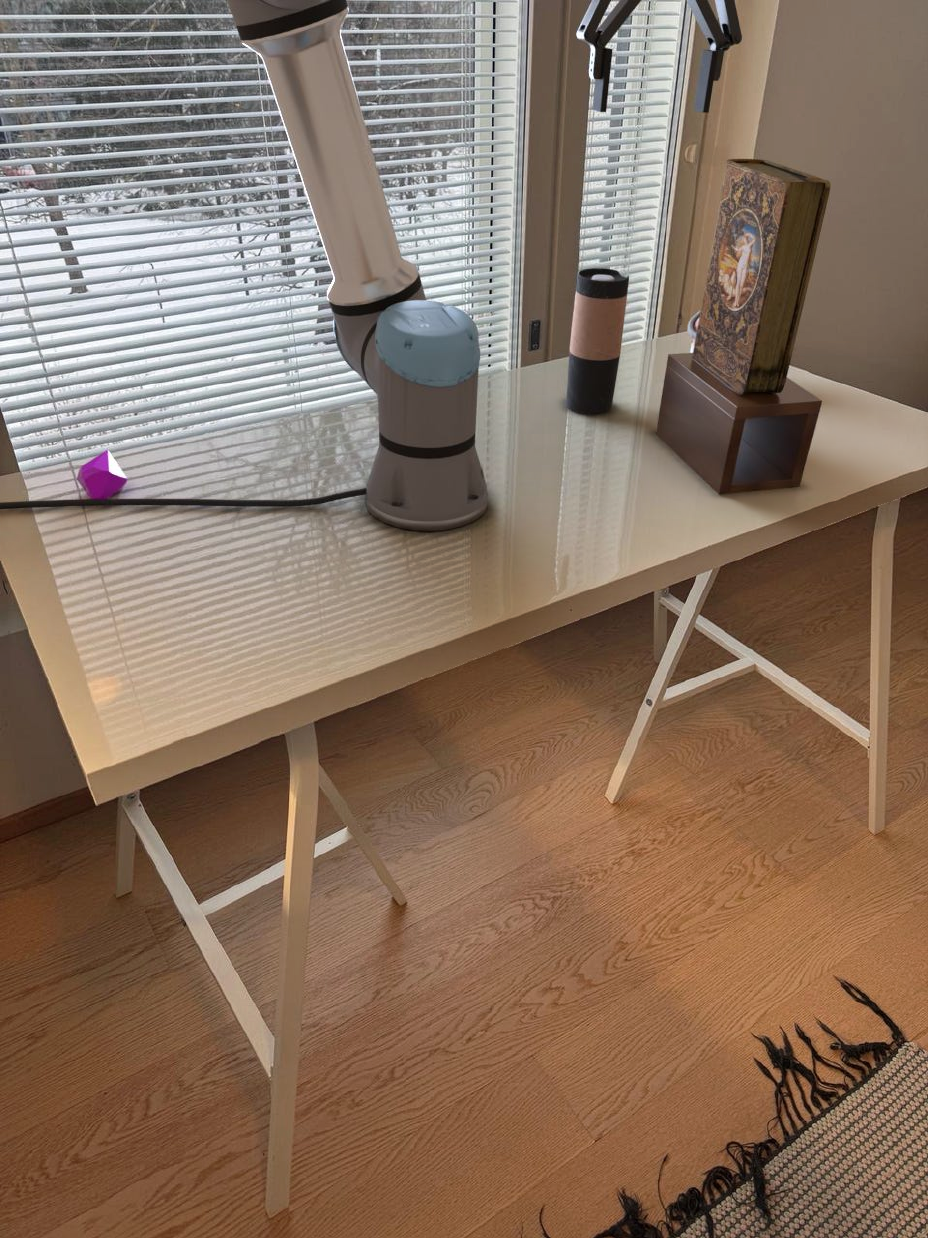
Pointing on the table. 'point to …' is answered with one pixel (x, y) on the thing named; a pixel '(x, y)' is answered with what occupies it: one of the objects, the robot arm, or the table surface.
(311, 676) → the table surface
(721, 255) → the book
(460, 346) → the robot arm
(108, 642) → the table surface
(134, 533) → the table surface
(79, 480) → the crystal
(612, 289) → the travel mug
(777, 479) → the shelf
